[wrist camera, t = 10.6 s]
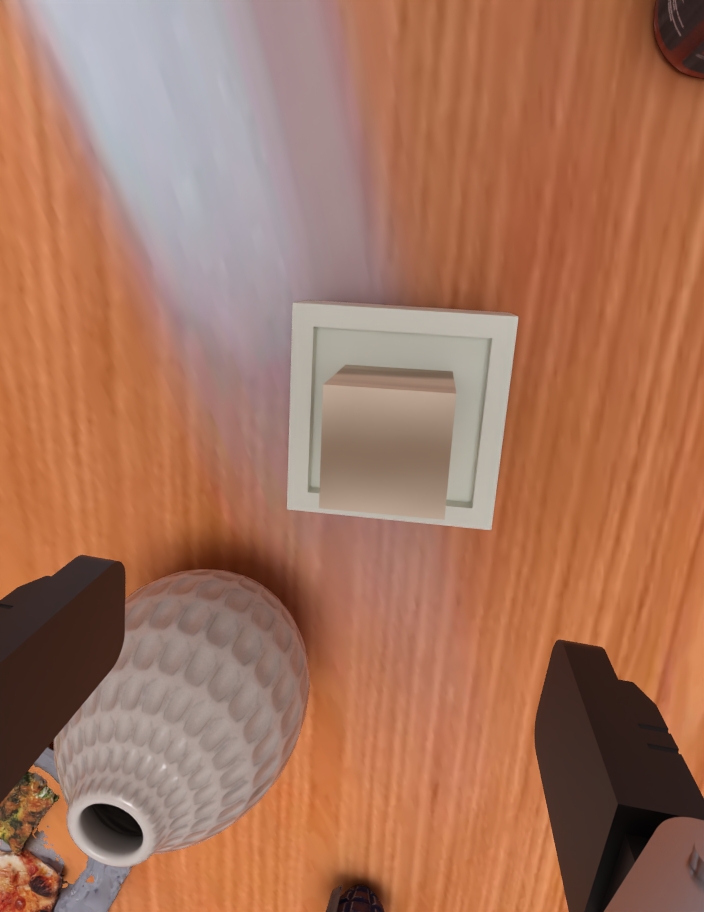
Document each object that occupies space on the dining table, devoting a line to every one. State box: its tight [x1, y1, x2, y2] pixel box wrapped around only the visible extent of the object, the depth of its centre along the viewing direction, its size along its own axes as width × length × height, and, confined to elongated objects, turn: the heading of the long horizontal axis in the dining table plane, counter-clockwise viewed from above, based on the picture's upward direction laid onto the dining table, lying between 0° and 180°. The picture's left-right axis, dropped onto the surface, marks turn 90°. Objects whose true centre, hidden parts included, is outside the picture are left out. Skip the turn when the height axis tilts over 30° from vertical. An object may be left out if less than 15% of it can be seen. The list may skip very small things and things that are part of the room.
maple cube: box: [319, 365, 456, 520], centre depth 27 cm, size 5×5×6 cm
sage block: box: [287, 300, 518, 530], centre depth 30 cm, size 10×10×4 cm
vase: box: [54, 569, 310, 867], centre depth 33 cm, size 13×13×17 cm
